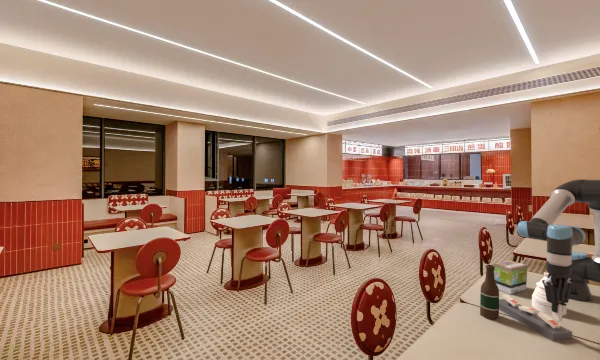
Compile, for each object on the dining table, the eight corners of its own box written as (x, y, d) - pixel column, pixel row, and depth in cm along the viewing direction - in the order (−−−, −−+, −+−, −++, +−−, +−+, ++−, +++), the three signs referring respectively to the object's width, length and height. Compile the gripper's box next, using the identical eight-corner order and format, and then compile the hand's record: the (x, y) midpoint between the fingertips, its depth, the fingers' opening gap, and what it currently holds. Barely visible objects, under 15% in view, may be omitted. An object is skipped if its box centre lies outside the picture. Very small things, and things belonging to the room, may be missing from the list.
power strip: (492, 305, 141) (493, 298, 140) (508, 304, 142) (508, 296, 142) (553, 341, 112) (553, 331, 112) (571, 338, 113) (572, 329, 113)
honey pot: (555, 317, 129) (556, 279, 128) (525, 305, 141) (526, 270, 141) (573, 312, 133) (574, 276, 133) (542, 300, 146) (543, 266, 145)
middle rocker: (518, 309, 130) (518, 306, 130) (524, 308, 130) (523, 305, 131) (533, 313, 123) (532, 310, 123) (539, 313, 124) (538, 309, 124)
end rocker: (537, 315, 121) (538, 312, 121) (543, 314, 122) (544, 312, 121) (553, 328, 115) (554, 326, 114) (559, 327, 115) (560, 325, 115)
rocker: (501, 296, 139) (502, 294, 139) (506, 296, 139) (507, 294, 139) (514, 306, 132) (514, 304, 132) (519, 306, 133) (520, 303, 132)
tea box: (511, 295, 152) (512, 268, 152) (492, 288, 161) (492, 262, 161) (527, 290, 159) (527, 264, 158) (507, 283, 168) (508, 259, 167)
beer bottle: (502, 321, 127) (504, 269, 126) (483, 319, 128) (484, 267, 127) (494, 312, 134) (495, 263, 133) (476, 310, 136) (477, 262, 135)
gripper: (562, 259, 119) (560, 313, 120) (535, 261, 117) (534, 316, 118) (582, 265, 111) (580, 322, 112) (554, 267, 109) (553, 326, 110)
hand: (557, 319), depth 115 cm, fingers closed
